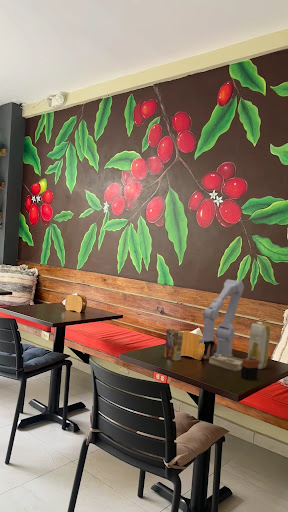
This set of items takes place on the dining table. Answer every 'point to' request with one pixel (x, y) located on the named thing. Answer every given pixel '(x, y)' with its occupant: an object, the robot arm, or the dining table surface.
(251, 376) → the battery
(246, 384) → the dining table surface
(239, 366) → the tray
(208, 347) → the peg
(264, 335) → the juice carton
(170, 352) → the candy box
